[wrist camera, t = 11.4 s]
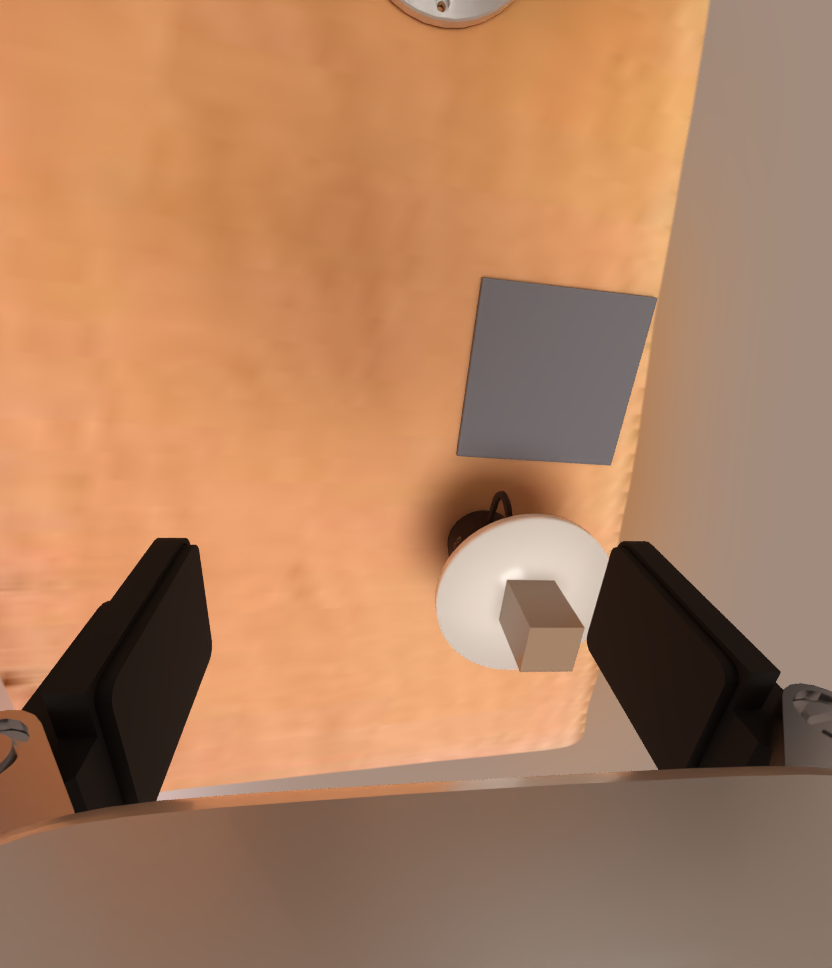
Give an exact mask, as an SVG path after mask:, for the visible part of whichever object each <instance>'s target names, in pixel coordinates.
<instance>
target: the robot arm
mask: <svg viewBox="0 0 832 968" xmlns="http://www.w3.org/2000/svg"><path fill="white" fill-rule="evenodd" d="M391 1H392V2H393V3H394V4H395V5H397V6H398V7H399V8H400V9H402V10H403V11H404V12H405V13H407V14H408V15H410V16H412V17H414V18H416V19H418V20H420V21H422V22H424V23H427V24H431V25H435V26H439V27H443V28H464V27H468V26H472V25H476V24H479V23H482V22H484V21H486V20H488V19H490V18H492V17H494V16H496V15H498V14H499V13H501V12H502V11H503V10H504V9H505V8H507V7H508V6H509V5H510V4H511V3H513V2H514V1H515V0H391ZM438 5H442V6H443V7H444V12H441V11H439V10H438V9H437V6H438ZM587 645H588V649H589V651H590V653H591V654H592V656H593V658H594V660H595V661H596V663H597V665H598V666H599V668H600V670H601V672H602V673H603V675H604V677H605V678H606V680H607V682H608V684H609V685H610V687H611V689H612V691H613V692H614V694H615V696H616V697H617V699H618V701H619V703H620V704H621V706H622V708H623V709H624V711H625V713H626V715H627V716H628V718H629V719H630V722H631V723H632V725H633V727H634V728H635V730H636V732H637V733H638V735H639V737H640V739H641V740H642V742H643V744H644V746H645V747H646V749H647V751H648V752H649V754H650V756H651V758H652V759H653V761H654V763H655V765H656V766H657V768H658V770H650V771H631V772H630V771H629V772H610V773H609V772H608V773H590V774H569V775H551V776H532V777H515V778H496V779H479V780H463V781H444V782H426V783H409V784H393V785H376V786H362V787H344V788H328V789H312V790H296V791H282V792H281V791H280V792H265V793H252V794H251V793H250V794H238V795H225V796H213V797H200V798H188V799H175V800H162V801H156V800H157V797H158V795H159V792H160V789H161V787H162V784H163V782H164V779H165V776H166V774H167V771H168V768H169V766H170V763H171V760H172V758H173V755H174V752H175V750H176V747H177V745H178V742H179V739H180V737H181V734H182V731H183V729H184V726H185V723H186V721H187V718H188V715H189V713H190V710H191V708H192V705H193V702H194V700H195V697H196V694H197V692H198V689H199V686H200V684H201V681H202V679H203V676H204V673H205V671H206V668H207V665H208V663H209V660H210V657H211V651H212V639H211V632H210V625H209V618H208V611H207V603H206V596H205V589H204V582H203V575H202V568H201V561H200V554H199V548H198V546H197V545H190V542H189V540H188V539H187V538H157V539H156V540H155V541H154V542H153V543H152V545H151V546H150V547H149V549H148V550H147V551H146V553H145V554H144V555H143V557H142V558H141V560H140V561H139V562H138V564H137V565H136V566H135V568H134V569H133V570H132V572H131V573H130V575H129V576H128V577H127V579H126V580H125V581H124V583H123V584H122V585H121V587H120V588H119V589H118V591H117V592H116V594H115V595H114V596H113V598H112V599H111V600H110V601H107V602H105V603H103V604H102V605H101V606H100V607H99V608H98V609H97V611H96V612H95V613H94V615H93V616H92V617H91V618H90V620H89V621H88V622H87V624H86V625H85V626H84V628H83V629H82V630H81V632H80V633H79V634H78V636H77V637H76V638H75V640H74V641H73V642H72V644H71V645H70V646H69V648H68V649H67V650H66V652H65V653H64V654H63V656H62V657H61V658H60V660H59V661H58V662H57V664H56V665H55V666H54V668H53V669H52V670H51V672H50V673H49V674H48V676H47V677H46V678H45V680H44V681H43V682H42V684H41V685H40V686H39V688H38V689H37V690H36V692H35V693H34V694H33V695H32V697H31V698H30V699H29V701H28V702H27V703H26V705H25V706H24V707H23V709H22V710H5V711H0V968H832V692H831V691H829V690H827V689H824V688H820V687H817V686H814V685H808V684H801V683H800V684H791V685H789V686H788V687H786V688H785V689H784V690H783V689H782V688H780V686H779V685H778V684H777V683H776V680H777V679H778V677H779V675H780V671H779V670H778V669H777V668H776V667H775V666H774V665H773V664H772V663H771V662H770V661H769V660H768V659H767V658H766V657H765V656H764V655H763V654H762V653H761V652H760V651H759V650H758V649H757V648H756V647H755V646H754V645H753V644H752V643H751V642H750V641H749V640H748V639H747V638H746V637H745V636H744V635H743V634H742V633H741V632H740V631H739V630H738V629H737V628H736V627H735V626H734V625H733V624H732V623H731V622H730V621H729V620H728V619H726V617H725V616H724V615H723V614H721V613H720V611H719V610H718V609H717V608H715V607H714V606H713V605H712V604H711V603H710V602H709V601H708V600H707V599H706V598H705V597H704V596H703V595H702V594H701V593H700V592H699V591H698V590H697V589H696V588H695V587H694V586H693V585H692V584H691V583H690V582H689V581H688V580H687V579H686V578H685V577H684V576H683V575H682V574H681V573H680V572H679V571H678V570H677V569H676V568H675V567H674V566H673V565H672V564H671V563H670V562H669V561H668V560H667V559H666V558H665V557H664V556H663V555H661V553H660V552H659V551H658V550H657V549H656V548H655V547H654V546H652V545H651V544H650V543H649V542H645V541H623V542H621V543H620V544H619V545H618V547H615V548H613V550H612V551H611V554H610V557H609V561H608V564H607V567H606V571H605V574H604V578H603V581H602V585H601V588H600V592H599V595H598V599H597V602H596V606H595V609H594V613H593V616H592V619H591V623H590V626H589V630H588V633H587Z"/></svg>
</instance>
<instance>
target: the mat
mask: <svg viewBox="0 0 832 968" xmlns="http://www.w3.org/2000/svg"><path fill="white" fill-rule="evenodd" d="M656 302H657V298H655V297H647V296H638V295H629V294H621V293H612V292H603V291H595V290H586V289H578V288H569V287H560V286H552V285H543V284H534V283H526V282H517V281H509V280H500V279H491V278H482V279H481V286H480V293H479V300H478V307H477V314H476V321H475V328H474V335H473V342H472V349H471V356H470V363H469V369H468V376H467V383H466V390H465V397H464V404H463V411H462V418H461V425H460V432H459V439H458V446H457V453H456V454H457V456H466V457H482V458H498V459H515V460H531V461H548V462H564V463H580V464H597V465H611V463H612V459H613V455H614V452H615V448H616V445H617V441H618V438H619V434H620V430H621V427H622V423H623V420H624V416H625V412H626V409H627V405H628V402H629V398H630V395H631V391H632V387H633V384H634V380H635V377H636V373H637V370H638V366H639V362H640V359H641V355H642V352H643V348H644V345H645V341H646V337H647V334H648V330H649V327H650V323H651V319H652V316H653V312H654V309H655V305H656Z"/></svg>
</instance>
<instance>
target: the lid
mask: <svg viewBox="0 0 832 968" xmlns="http://www.w3.org/2000/svg"><path fill="white" fill-rule="evenodd" d="M608 561H609V558H608V556H607V554H606V552H605V551H604V549H603V548H602V546H601V545H600V544H599V543H598V542H597V541H596V540H595V539H594V538H593V536H592V535H591V534H590V533H589V532H588V531H586V530H585V529H584V528H583V527H581V526H580V525H578V524H576V523H574V522H573V521H570V520H568V519H565V518H563V517H559V516H555V515H550V514H540V513H537V514H522V515H515V516H511V517H507V518H503V519H501V520H498V521H495V522H493V523H490V524H489V525H487V526H485V527H483V528H481V529H479V530H478V531H476V532H475V533H473V534H472V535H470V536H469V537H468V538H467V539H466V540H464V541H463V542H462V543H461V544H460V545H459V546H458V547H457V548H456V549H455V550H454V551H453V553H452V554H451V555H450V557H449V558H448V560H447V561H446V563H445V565H444V566H443V568H442V570H441V572H440V575H439V578H438V581H437V585H436V590H435V608H436V614H437V618H438V622H439V625H440V629H441V631H442V633H443V635H444V637H445V638H446V640H447V641H448V643H449V644H450V645H451V646H452V647H453V649H454V650H455V651H457V652H458V653H459V654H460V655H462V656H463V657H465V658H466V659H468V660H470V661H472V662H474V663H476V664H479V665H482V666H485V667H489V668H495V669H504V670H515V669H519V671H520V672H564V671H573V667H574V664H575V660H576V657H577V653H578V650H579V646H580V644H581V643H583V642H584V641H585V640H586V639H587V633H588V630H589V626H590V623H591V619H592V616H593V613H594V609H595V606H596V602H597V599H598V595H599V592H600V588H601V585H602V581H603V578H604V574H605V571H606V567H607V564H608Z"/></svg>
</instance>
